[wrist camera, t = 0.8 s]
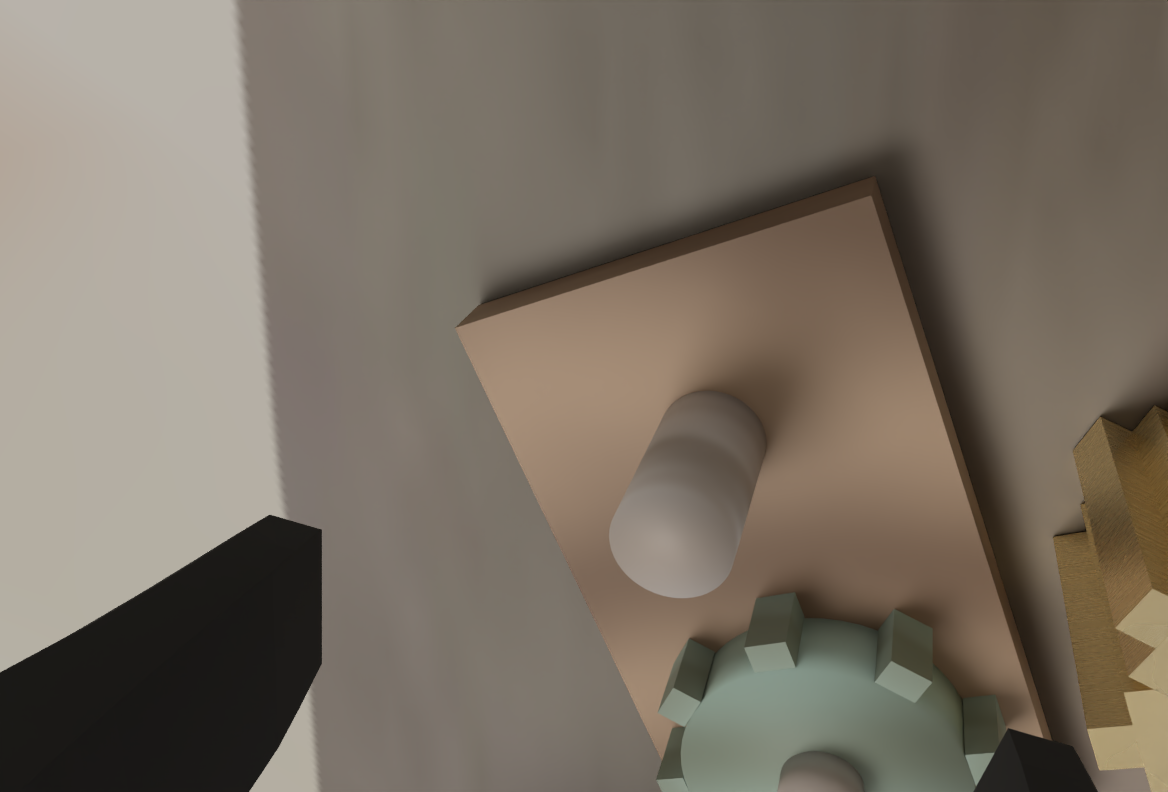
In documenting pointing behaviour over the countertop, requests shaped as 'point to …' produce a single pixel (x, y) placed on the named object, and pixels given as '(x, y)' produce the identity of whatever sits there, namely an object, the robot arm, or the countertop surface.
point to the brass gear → (1122, 593)
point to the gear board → (767, 504)
